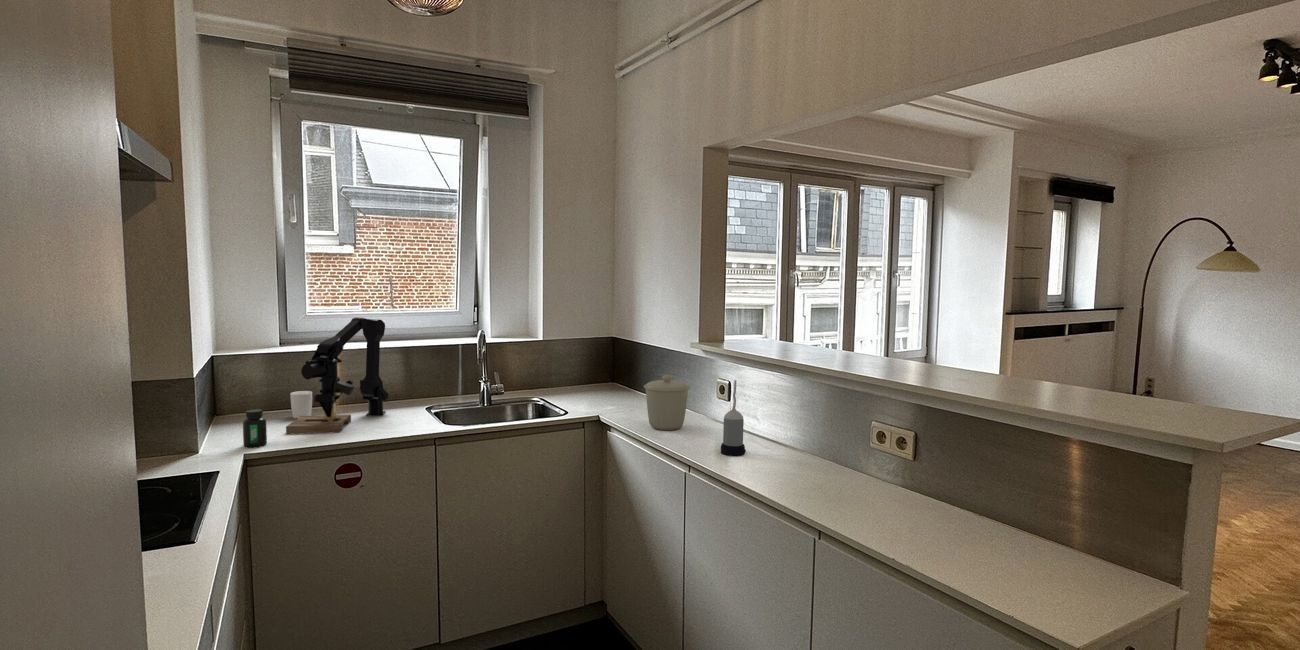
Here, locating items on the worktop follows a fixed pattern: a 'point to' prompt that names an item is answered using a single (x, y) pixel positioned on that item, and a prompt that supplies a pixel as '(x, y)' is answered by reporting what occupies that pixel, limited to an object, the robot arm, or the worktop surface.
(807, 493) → the worktop surface
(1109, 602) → the worktop surface
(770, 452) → the worktop surface
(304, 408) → the white cup
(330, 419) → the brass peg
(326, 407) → the robot arm
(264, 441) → the supplement bottle
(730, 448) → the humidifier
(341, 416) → the keyhole plate
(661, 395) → the canister
